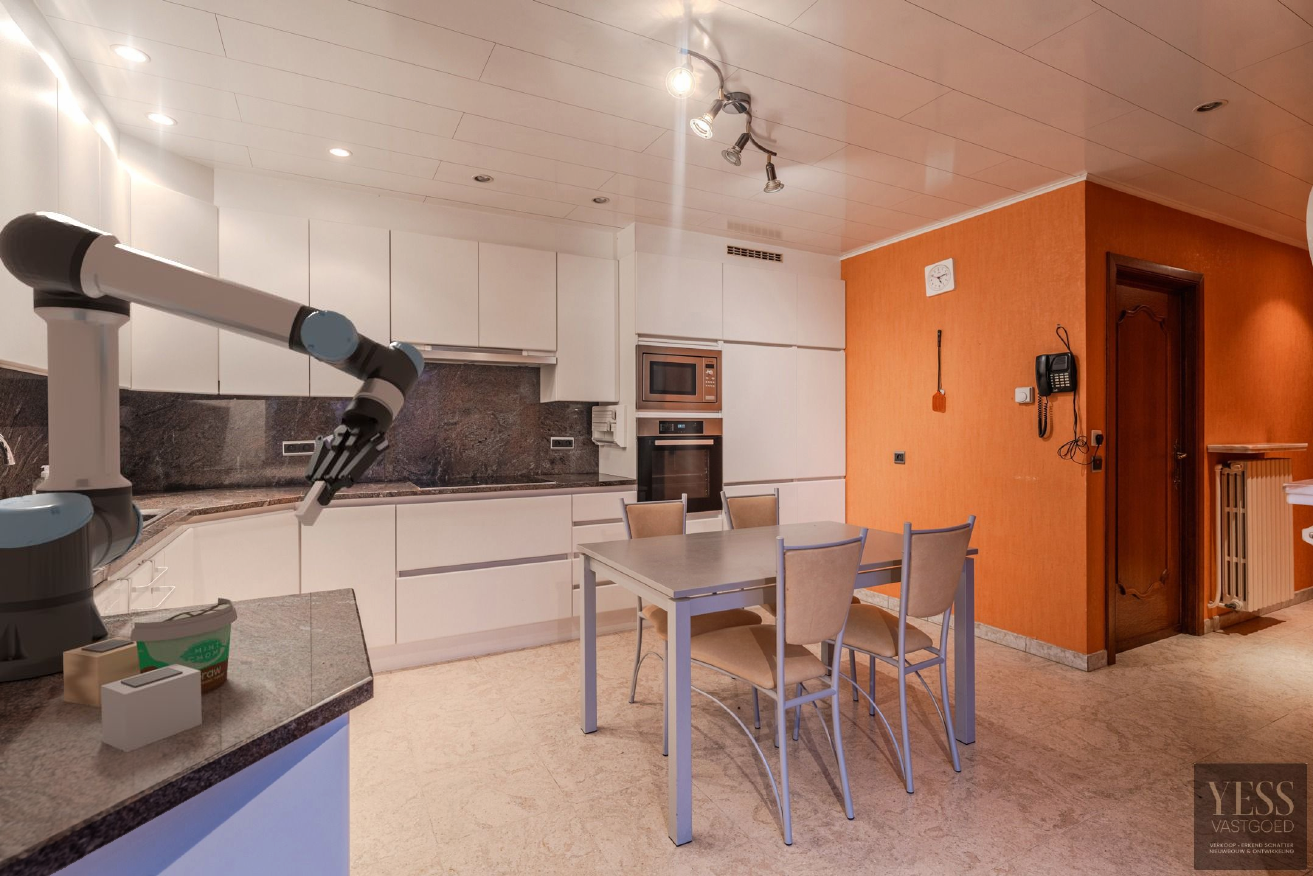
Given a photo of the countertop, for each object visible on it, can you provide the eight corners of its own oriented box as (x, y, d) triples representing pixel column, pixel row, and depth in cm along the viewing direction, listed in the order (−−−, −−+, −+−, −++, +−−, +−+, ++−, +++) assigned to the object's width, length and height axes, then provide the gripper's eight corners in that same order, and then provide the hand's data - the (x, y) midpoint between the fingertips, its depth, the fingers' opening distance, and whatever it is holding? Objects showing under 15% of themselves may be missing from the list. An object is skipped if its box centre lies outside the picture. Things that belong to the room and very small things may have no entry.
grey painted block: (102, 742, 67) (100, 683, 67) (177, 715, 74) (176, 661, 74) (126, 753, 65) (125, 692, 65) (201, 724, 71) (200, 669, 71)
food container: (174, 713, 74) (172, 626, 74) (131, 708, 76) (129, 623, 75) (261, 673, 86) (260, 599, 86) (223, 670, 88) (222, 596, 87)
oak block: (64, 701, 78) (63, 650, 78) (118, 682, 84) (117, 635, 84) (98, 707, 76) (97, 655, 76) (151, 687, 82) (150, 639, 82)
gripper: (415, 425, 113) (354, 536, 97) (350, 426, 116) (280, 534, 100) (396, 394, 108) (328, 505, 92) (329, 395, 111) (251, 504, 95)
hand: (303, 520), depth 96 cm, fingers closed
